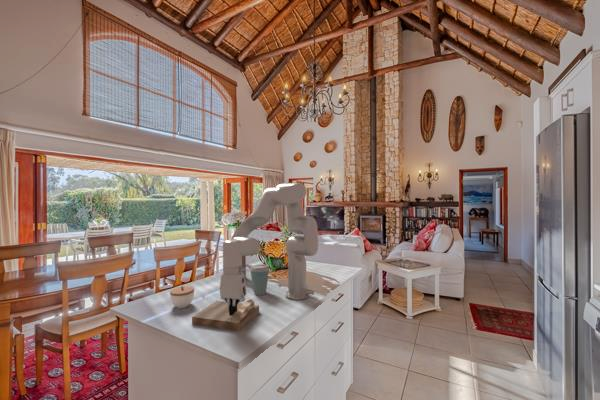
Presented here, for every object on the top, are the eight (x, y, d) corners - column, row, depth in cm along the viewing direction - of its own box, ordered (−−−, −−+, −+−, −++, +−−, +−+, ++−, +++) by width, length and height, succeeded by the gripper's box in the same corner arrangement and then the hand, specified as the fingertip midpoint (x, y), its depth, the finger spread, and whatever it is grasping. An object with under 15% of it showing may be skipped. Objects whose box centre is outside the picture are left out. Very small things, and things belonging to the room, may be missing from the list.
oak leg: (247, 305, 124) (247, 299, 124) (254, 306, 123) (254, 299, 123) (231, 322, 107) (231, 315, 107) (238, 323, 106) (238, 315, 106)
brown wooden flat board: (259, 312, 124) (259, 305, 124) (239, 330, 107) (239, 322, 107) (216, 306, 131) (216, 300, 131) (192, 323, 113) (191, 316, 113)
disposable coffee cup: (246, 295, 146) (246, 267, 145) (255, 288, 156) (255, 262, 156) (265, 297, 143) (265, 268, 143) (272, 290, 153) (272, 263, 153)
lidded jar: (199, 302, 136) (198, 284, 136) (183, 311, 126) (183, 291, 126) (181, 300, 139) (181, 282, 139) (165, 308, 129) (164, 288, 129)
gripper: (253, 268, 114) (253, 312, 114) (221, 266, 118) (222, 308, 118) (244, 273, 106) (244, 320, 107) (211, 271, 111) (211, 316, 111)
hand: (233, 314), depth 113 cm, fingers closed
